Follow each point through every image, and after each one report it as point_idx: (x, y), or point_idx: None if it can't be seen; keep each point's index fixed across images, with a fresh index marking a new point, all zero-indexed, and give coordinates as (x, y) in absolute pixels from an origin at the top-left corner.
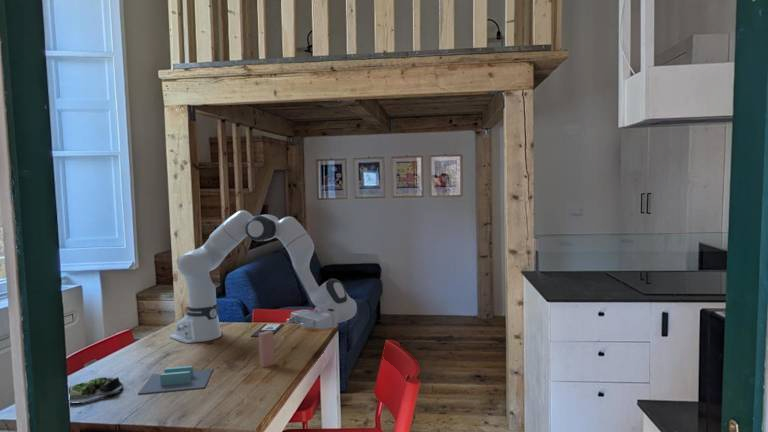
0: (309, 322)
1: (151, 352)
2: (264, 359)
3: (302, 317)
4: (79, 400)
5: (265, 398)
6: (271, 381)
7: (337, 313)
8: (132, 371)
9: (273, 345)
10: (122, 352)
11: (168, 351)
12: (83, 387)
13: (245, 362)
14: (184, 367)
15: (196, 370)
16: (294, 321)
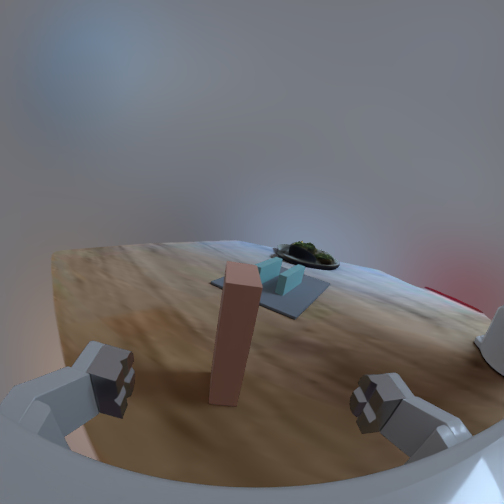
0: (42, 378)
1: (437, 310)
2: (213, 355)
3: (333, 486)
4: (282, 246)
5: (73, 283)
6: (107, 324)
7: None
8: (361, 284)
9: (216, 344)
10: (441, 299)
11: (438, 320)
12: (300, 243)
13: (299, 369)
14: (287, 271)
15: (307, 305)
16: (406, 463)
